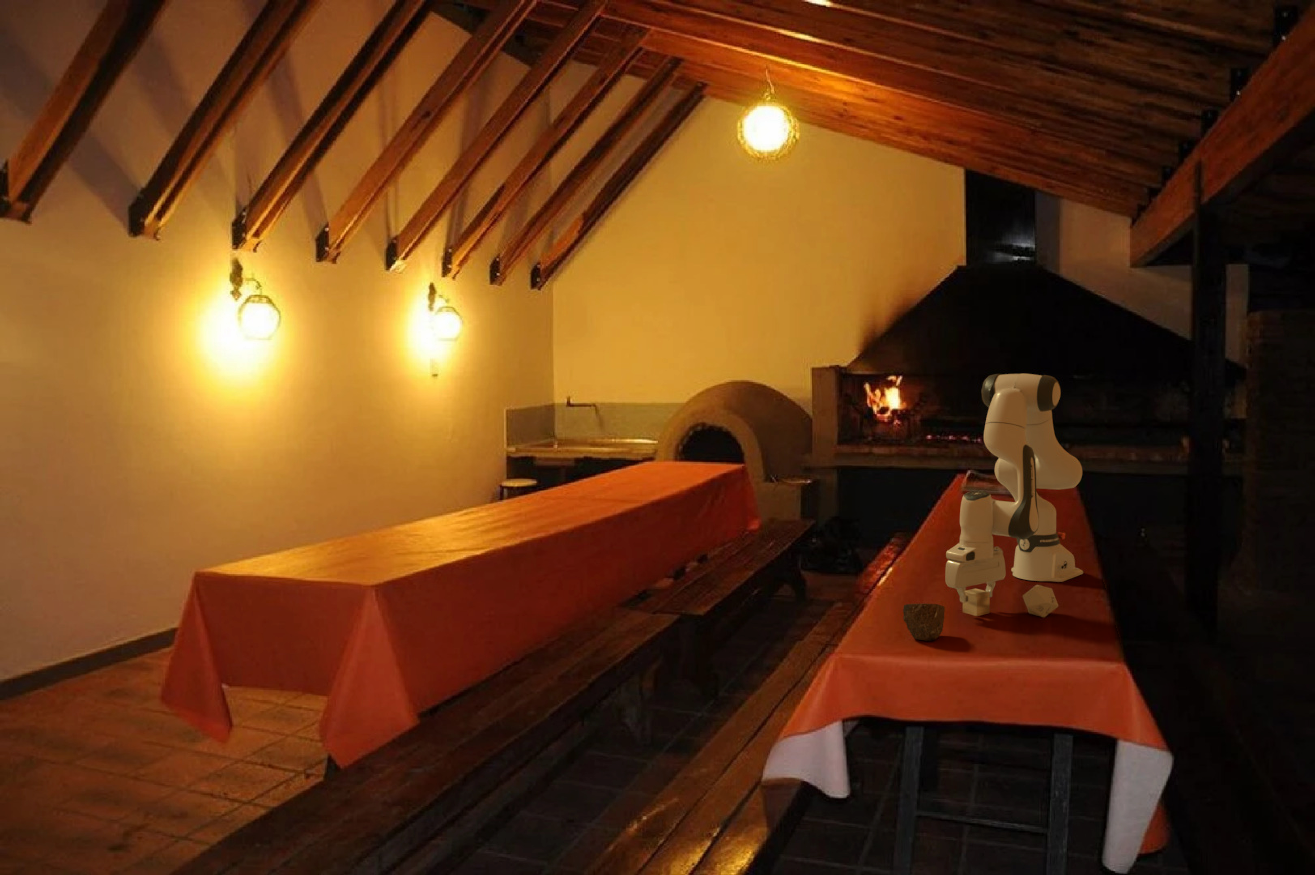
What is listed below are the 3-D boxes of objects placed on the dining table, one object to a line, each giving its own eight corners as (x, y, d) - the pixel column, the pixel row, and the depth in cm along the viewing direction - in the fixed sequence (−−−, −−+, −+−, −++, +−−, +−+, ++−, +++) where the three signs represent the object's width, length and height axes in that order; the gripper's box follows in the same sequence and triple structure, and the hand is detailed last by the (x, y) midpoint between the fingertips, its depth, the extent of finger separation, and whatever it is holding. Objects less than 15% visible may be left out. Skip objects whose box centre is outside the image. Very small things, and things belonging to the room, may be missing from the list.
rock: (933, 612, 263) (956, 598, 256) (941, 648, 258) (964, 635, 251) (896, 607, 259) (918, 593, 251) (902, 643, 254) (925, 630, 246)
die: (1027, 621, 270) (1050, 596, 266) (1010, 599, 277) (1033, 574, 273) (1047, 627, 274) (1070, 602, 270) (1030, 605, 281) (1052, 580, 277)
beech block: (975, 609, 281) (975, 588, 281) (989, 613, 277) (989, 592, 276) (962, 612, 279) (962, 591, 278) (976, 616, 274) (976, 595, 274)
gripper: (993, 543, 284) (993, 591, 285) (941, 552, 273) (941, 602, 275) (1011, 547, 278) (1010, 596, 279) (959, 556, 268) (958, 607, 269)
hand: (976, 599), depth 277 cm, fingers open, 8 cm apart
